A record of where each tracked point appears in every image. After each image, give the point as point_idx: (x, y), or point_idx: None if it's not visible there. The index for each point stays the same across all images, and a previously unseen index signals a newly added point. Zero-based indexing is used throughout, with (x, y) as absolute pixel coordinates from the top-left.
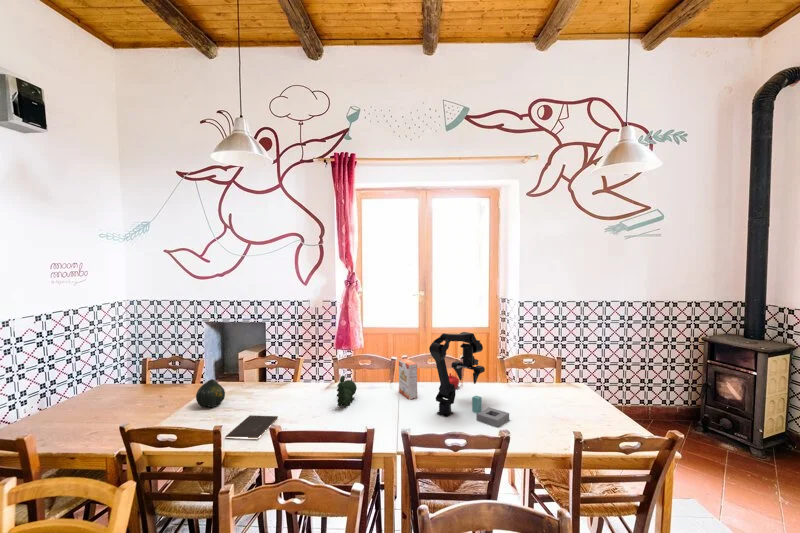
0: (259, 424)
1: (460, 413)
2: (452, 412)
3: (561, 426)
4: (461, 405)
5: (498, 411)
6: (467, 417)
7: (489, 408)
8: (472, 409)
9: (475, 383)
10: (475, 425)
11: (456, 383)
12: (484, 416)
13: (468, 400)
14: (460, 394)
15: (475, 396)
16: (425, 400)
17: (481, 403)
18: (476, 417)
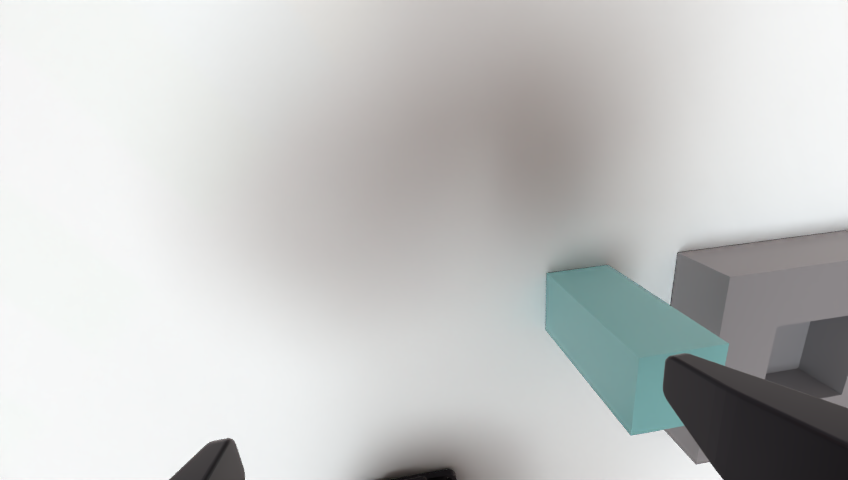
0: None
1: (491, 423)
2: (448, 477)
3: None
4: (378, 297)
5: (844, 292)
6: (576, 431)
7: (749, 299)
8: (557, 341)
9: (688, 360)
10: (683, 471)
11: None
12: None
13: (325, 123)
14: (71, 10)
15: (653, 390)
16: (29, 474)
17: (663, 304)
18: (673, 439)
